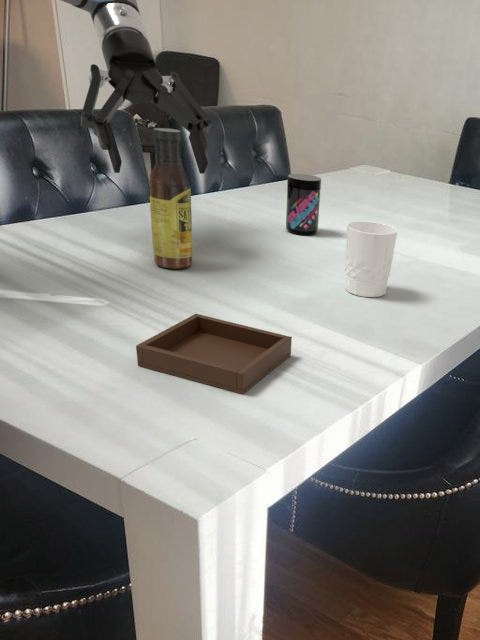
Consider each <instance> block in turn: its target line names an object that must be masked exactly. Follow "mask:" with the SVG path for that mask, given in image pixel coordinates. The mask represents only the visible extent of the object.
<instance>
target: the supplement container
mask: <svg viewBox="0 0 480 640" xmlns="http://www.w3.org/2000/svg"><path fill="white" fill-rule="evenodd" d="M286 181H287V183H286V186H287V187H286V211H285V212H286V215H285V229H286V231H287V232H288V233H290V234H294V235H298V236H314V235H315V234H317V233H318V230H319V219H320V217H319V216H320V201H321V189H322V178H321V177H319V176H317V175H312V174H305V173H290V174H288V175H287V179H286Z"/></svg>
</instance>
